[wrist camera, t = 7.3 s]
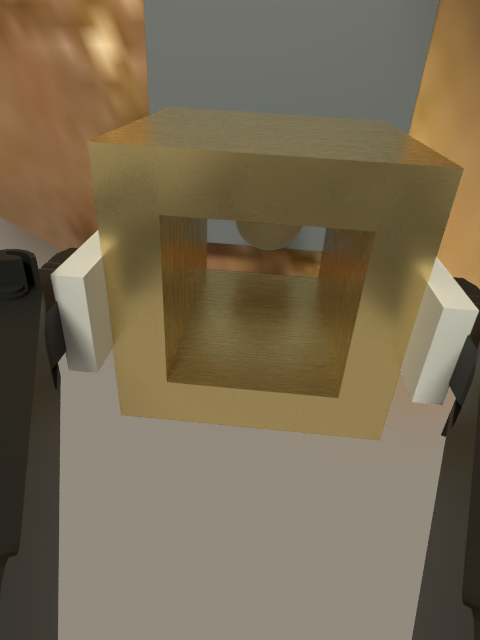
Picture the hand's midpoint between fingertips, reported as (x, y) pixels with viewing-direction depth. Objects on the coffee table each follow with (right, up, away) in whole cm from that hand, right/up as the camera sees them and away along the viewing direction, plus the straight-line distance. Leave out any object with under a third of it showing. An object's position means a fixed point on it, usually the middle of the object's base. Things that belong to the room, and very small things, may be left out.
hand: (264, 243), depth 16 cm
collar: (0, +1, +2) cm, 3 cm away
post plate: (+2, +12, +9) cm, 15 cm away
